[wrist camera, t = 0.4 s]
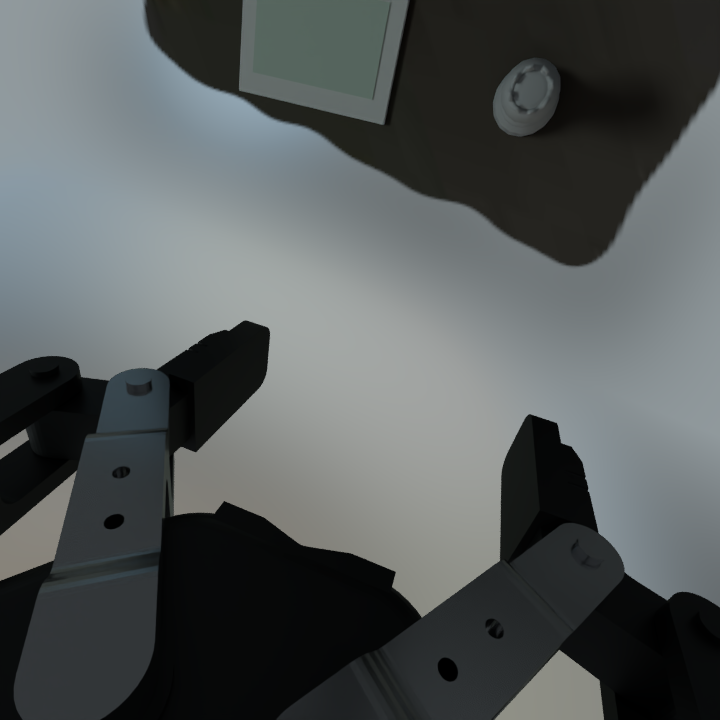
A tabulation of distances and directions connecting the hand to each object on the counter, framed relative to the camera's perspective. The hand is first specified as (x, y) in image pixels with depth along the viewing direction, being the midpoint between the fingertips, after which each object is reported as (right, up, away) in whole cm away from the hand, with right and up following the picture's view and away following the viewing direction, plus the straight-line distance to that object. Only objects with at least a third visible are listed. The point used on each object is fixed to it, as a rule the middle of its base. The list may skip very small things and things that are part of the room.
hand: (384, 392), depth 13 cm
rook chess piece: (+11, +20, +18) cm, 29 cm away
